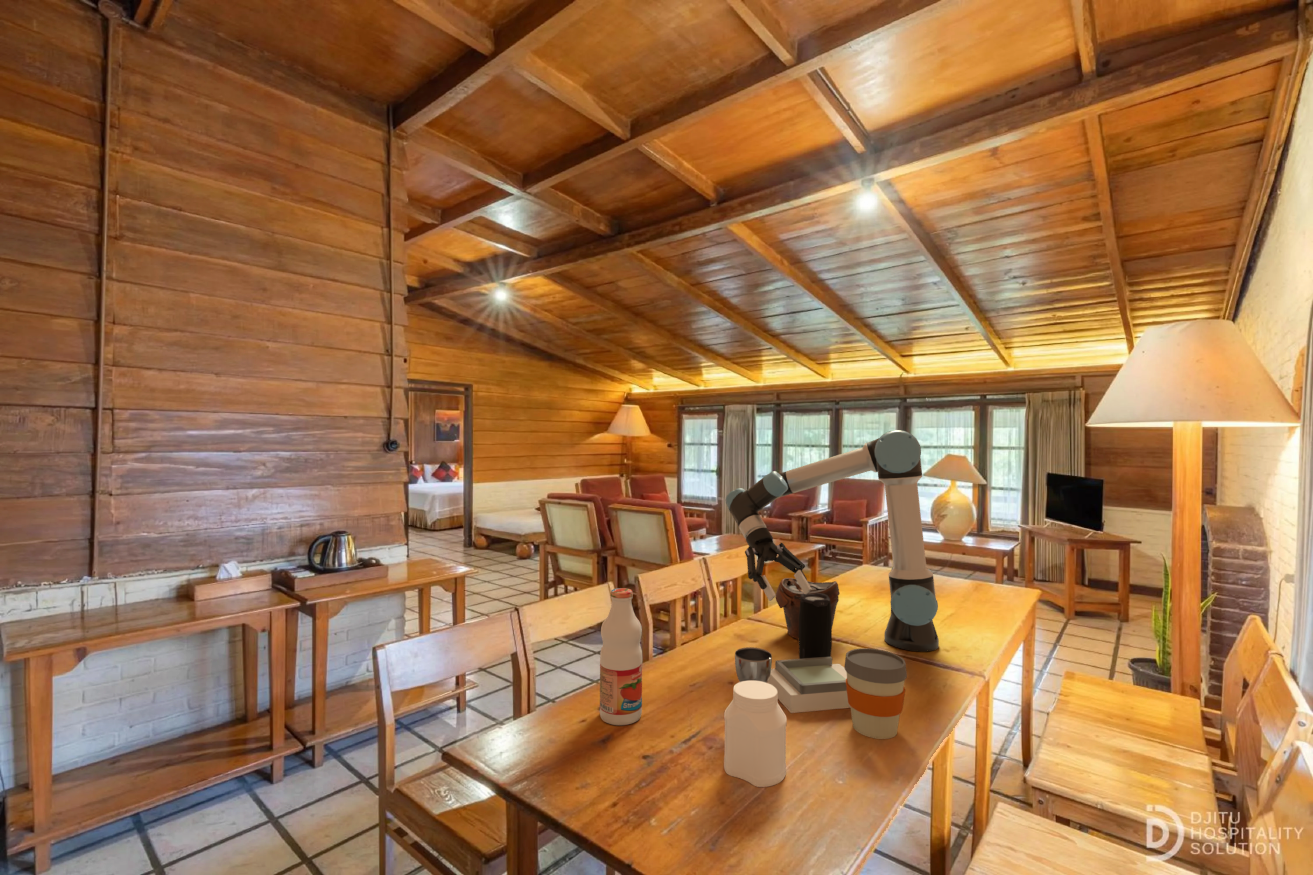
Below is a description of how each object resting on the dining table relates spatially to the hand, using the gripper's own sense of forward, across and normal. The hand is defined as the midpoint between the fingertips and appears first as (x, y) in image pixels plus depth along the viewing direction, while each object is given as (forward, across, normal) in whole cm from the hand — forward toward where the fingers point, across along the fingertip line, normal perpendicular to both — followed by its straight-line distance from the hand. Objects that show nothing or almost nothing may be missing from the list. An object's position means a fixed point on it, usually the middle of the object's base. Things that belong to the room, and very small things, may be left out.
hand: (790, 595), depth 164 cm
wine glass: (+29, +33, +4) cm, 44 cm away
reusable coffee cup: (+40, +12, +14) cm, 44 cm away
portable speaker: (+19, 0, -6) cm, 20 cm away
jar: (+39, +45, +14) cm, 61 cm away
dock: (+28, +9, +3) cm, 29 cm away
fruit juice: (+17, +57, -8) cm, 60 cm away
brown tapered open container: (+5, -18, -21) cm, 28 cm away
